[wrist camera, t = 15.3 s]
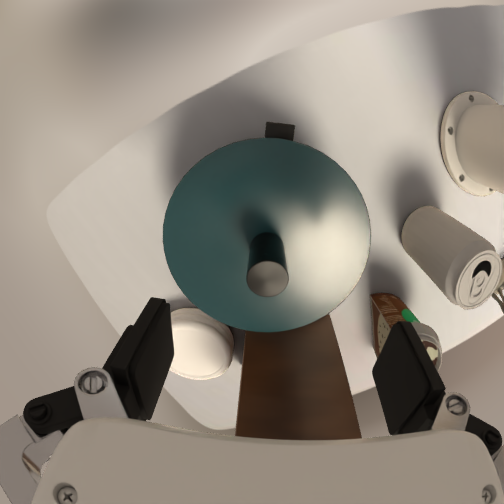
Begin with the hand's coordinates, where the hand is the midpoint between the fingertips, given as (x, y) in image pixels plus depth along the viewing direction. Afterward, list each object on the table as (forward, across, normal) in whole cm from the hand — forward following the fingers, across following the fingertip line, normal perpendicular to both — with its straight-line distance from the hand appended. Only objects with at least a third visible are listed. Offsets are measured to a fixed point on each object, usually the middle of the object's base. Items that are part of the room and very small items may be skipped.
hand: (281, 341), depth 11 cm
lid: (+11, +1, 0) cm, 11 cm away
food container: (+20, -17, +12) cm, 29 cm away
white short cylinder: (+20, +8, +18) cm, 28 cm away
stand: (+20, -3, +17) cm, 26 cm away
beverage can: (+20, -17, 0) cm, 26 cm away
